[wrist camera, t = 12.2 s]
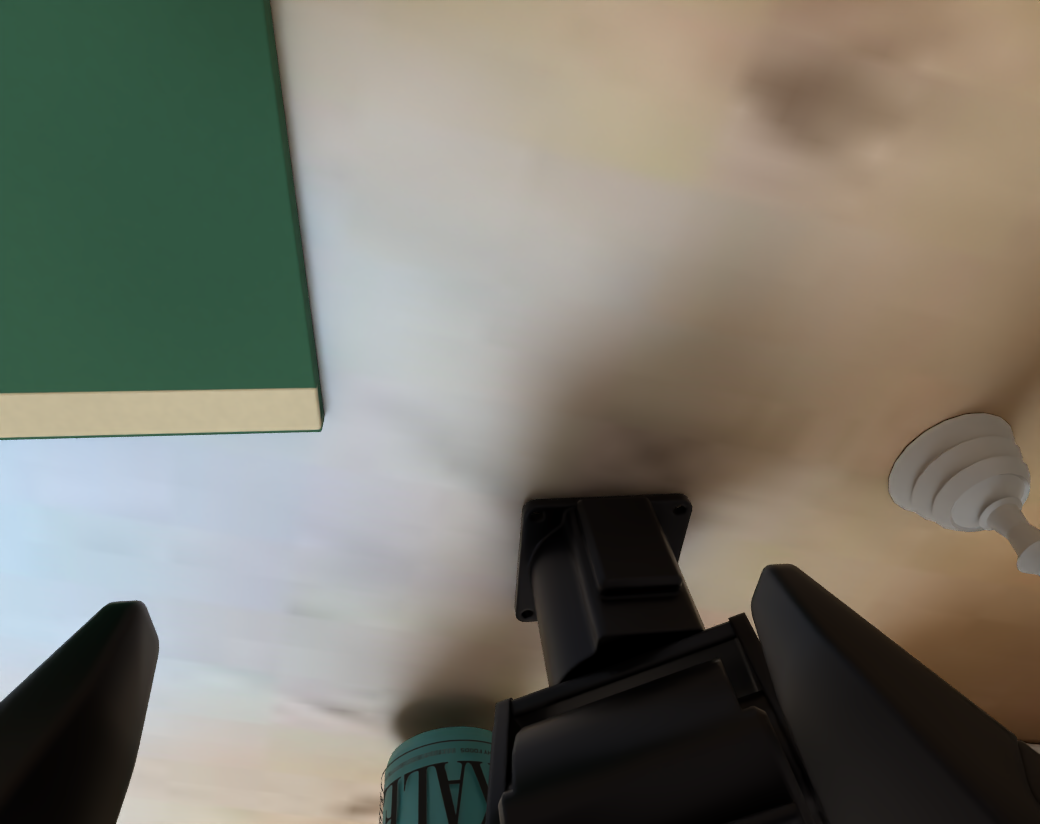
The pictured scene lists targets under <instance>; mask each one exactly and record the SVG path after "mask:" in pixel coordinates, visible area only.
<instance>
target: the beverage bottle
mask: <svg viewBox="0 0 1040 824" xmlns="http://www.w3.org/2000/svg"><path fill="white" fill-rule="evenodd" d="M491 743H492V731H489V730H485V729H481V728H475V727H446V728H439V729H434V730H431V731H427V732H424V733H421V734H418V735H416V736H414V737H412V738H410V739H408V740H406V741H405V742H404V743H402V744H401V745H400V746H399V747H397V748H396V749H395V751H394V752H393V753H392V755H391V757H390V759H389V762H388V765H387V768H386V769H385V770H386V771H384V772H385V784H384V791H383V789H382V791H383V793H384V803H383V801H382V796H380V799H381V801H380V805H381V802H382V805H383V812H382V810H381V812H382V814H383V822H382V824H485V820H486V807H487V794H488V781H489V768H490V755H491ZM384 772H383V774H384ZM382 776H383V775H382ZM381 779H382V778H381ZM381 788H382V784H381ZM380 794H381V792H380ZM380 809H381V807H380ZM379 813H380V811H379ZM379 815H380V814H379ZM380 819H381V816H380V818H379V823H380V824H381V822H380ZM381 821H382V819H381Z"/></svg>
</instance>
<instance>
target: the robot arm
mask: <svg viewBox="0 0 1040 824" xmlns="http://www.w3.org/2000/svg"><path fill="white" fill-rule="evenodd" d="M677 506H680V507H679V508H676V507H677ZM534 512H540V513H539V514H532V513H534ZM691 512H692V505H691V503H690V501H689V499H688V497H687V496H686V495H684V494H657V495H632V496H608V497H583V498H558V499H536V500H531V501H529V502H527V503H526V504H525V505H524V506H523V509H522V519H521V532H520V544H519V557H518V570H517V582H516V595H515V614H516V618H517V619H518V620H520V621H522V622H532V621H538V627H539V633H540V638H541V644H542V650H543V655H544V661H545V667H546V672H547V678H548V684H549V687H547V688H544V689H542V690H539V691H536V692H534V693H531V694H528V695H525V696H523V697H520V698H517V699H514V700H513V699H512V698H509V699H506V700H503V701H501V702H498V703H496V706H495V718H494V727H493V730H492V743H491V755H490V768H489V781H488V794H487V807H486V820H485V824H1040V754H1039V753H1038V752H1036V751H1035V750H1034V749H1033V748H1031V747H1030V746H1029V745H1027V744H1026V743H1025V742H1023V741H1021V740H1017V737H1016V736H1015V735H1014V734H1013V733H1011V732H1010V731H1009V730H1008V729H1006V728H1005V727H1004V726H1002V725H1001V724H1000V723H999V722H997V721H996V720H995V719H993V718H992V717H991V716H989V715H988V714H987V713H986V712H984V711H983V710H982V709H980V708H979V707H978V706H976V705H975V704H974V703H973V702H971V701H970V700H969V699H967V698H966V697H965V696H964V695H962V694H961V693H960V692H958V691H957V690H956V689H954V688H953V687H952V686H951V685H949V684H948V683H947V682H945V681H944V680H943V679H941V678H940V677H939V676H938V675H936V674H935V673H934V672H932V671H931V670H930V669H929V668H927V667H926V666H925V665H923V664H922V663H921V662H919V661H918V660H917V659H916V658H914V657H913V656H912V655H910V654H909V653H908V652H906V651H905V650H904V649H903V648H901V647H900V646H899V645H897V644H896V643H895V642H894V641H892V640H891V639H890V638H888V637H887V636H886V635H884V634H883V633H882V632H881V631H879V630H878V629H877V628H875V627H874V626H873V625H871V624H870V623H869V622H868V621H866V620H865V619H864V618H862V617H861V616H860V615H859V614H857V613H856V612H855V611H853V610H852V609H851V608H849V607H848V606H847V605H846V604H844V603H843V602H842V601H840V600H839V599H838V598H836V597H835V596H834V595H833V594H831V593H830V592H829V591H827V590H826V589H825V588H824V587H822V586H821V585H820V584H818V583H817V582H816V581H814V580H813V579H812V578H811V577H809V576H808V575H807V574H805V573H804V572H803V571H801V570H800V569H799V568H797V567H796V566H794V565H792V564H775V565H767V566H766V567H765V568H764V569H763V571H762V573H761V576H760V579H759V581H758V584H757V587H756V589H755V592H754V595H753V597H752V601H751V611H752V616H753V620H754V623H755V626H756V630H757V633H758V636H759V639H758V637H757V635H756V633H755V632H754V630H753V628H752V626H751V624H750V622H749V620H748V618H747V616H746V615H745V613H741V614H738V615H736V616H733V617H730V618H728V619H729V621H728V622H725V623H722V624H720V625H717V626H714V627H712V628H709V629H706V630H705V627H704V625H703V623H702V620H701V618H700V616H699V613H698V611H697V608H696V606H695V604H694V601H693V599H692V596H691V594H690V592H689V589H688V587H687V585H686V582H685V580H684V577H683V575H682V573H681V570H680V568H679V566H678V560H679V556H680V552H681V549H682V545H683V541H684V538H685V534H686V530H687V527H688V523H689V519H690V516H691ZM759 640H760V641H759ZM158 654H159V640H158V636H157V633H156V631H155V628H154V625H153V623H152V620H151V618H150V615H149V613H148V610H147V608H146V606H145V604H144V603H143V602H141V601H137V600H136V601H119V602H111V603H109V604H107V605H106V606H104V607H103V608H102V609H101V610H100V611H99V612H97V613H96V614H95V615H94V616H93V617H92V618H91V619H90V620H89V621H88V622H87V623H86V624H85V625H83V626H82V627H81V628H80V629H79V630H78V631H77V632H76V633H75V634H74V635H73V636H72V637H70V638H69V639H68V640H67V641H66V642H65V643H64V644H63V645H62V646H61V647H60V648H59V649H57V650H56V651H55V652H54V653H53V654H52V655H51V656H50V657H49V658H48V659H47V660H46V661H45V662H43V663H42V664H41V665H40V666H39V667H38V668H37V669H36V670H35V671H34V672H33V673H32V674H30V675H29V676H28V677H27V678H26V679H25V680H24V681H23V682H22V683H21V684H20V685H19V686H17V687H16V688H15V689H14V690H13V691H12V692H11V693H10V694H9V695H8V696H7V697H6V698H5V699H3V700H2V701H1V702H0V824H116V822H117V819H118V816H119V813H120V810H121V807H122V804H123V801H124V798H125V795H126V792H127V789H128V786H129V783H130V779H131V776H132V773H133V769H134V766H135V762H136V758H137V753H138V749H139V745H140V740H141V735H142V730H143V726H144V721H145V716H146V711H147V707H148V702H149V697H150V692H151V688H152V683H153V678H154V673H155V669H156V664H157V659H158Z"/></svg>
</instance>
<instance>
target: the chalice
mask: <svg viewBox="0 0 1040 824" xmlns="http://www.w3.org/2000/svg"><path fill="white" fill-rule="evenodd" d="M1029 491H1030V472H1029V469H1028V466H1027V464H1025V463H1024V462H1023V457H1022V454H1021V451H1020V448H1019V446H1018V445H1017V444H1015V440H1014V436H1013V433H1012V429H1011V426H1010V425H1009V424H1008V423H1007V422H1005V421H1004V420H1003V419H1002V418H1001V417H998V416H994V415H991V414H987V413H977V414H965V415H962V416H959V417H955V418H952V419H949V420H946V421H944V422H942V423H940V424H938V425H936V426H935V427H933V428H931V429H929V430H927V431H926V432H924V433H923V434H922V435H921V436H919V437H918V438H917V439H916V440H915V441H913V442H912V443H911V444H910V445H909V446H908V447H907V448H906V449H905V450H904V452H903V453H902V454H901V456H900V457H899V458H898V459H897V461H896V462H895V464H894V467H893V469H892V471H891V474H890V476H889V493H890V495H891V497H892V499H893V501H894V503H896V504H897V505H899V506H900V507H902V508H903V509H905V510H908V511H912V512H916V513H917V514H918V515H920V516H921V517H923V518H924V519H926V520H930V521H934V522H936V523H937V524H939V525H940V526H941V527H943V528H946V529H951V530H956V531H965V532H975V531H982V530H995V531H996V532H998V533H999V534H1001V535H1002V536H1004V537H1006V538H1007V539H1008V540H1009V542H1010V544H1011V545H1012V547H1013V548H1014V550H1015V552H1016V553H1017V555H1018V560H1017V568H1018V570H1020V571H1021V572H1023V573H1029V574H1037V575H1039V576H1040V530H1039V529H1037V528H1036V527H1034V526H1032V525H1031V524H1029V523H1028V521H1027V520H1026V518H1025V517H1024V515H1023V514H1022V512H1021V509H1022V506H1023V504H1024V503H1025V501H1026V499H1027V497H1028V496H1029Z"/></svg>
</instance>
